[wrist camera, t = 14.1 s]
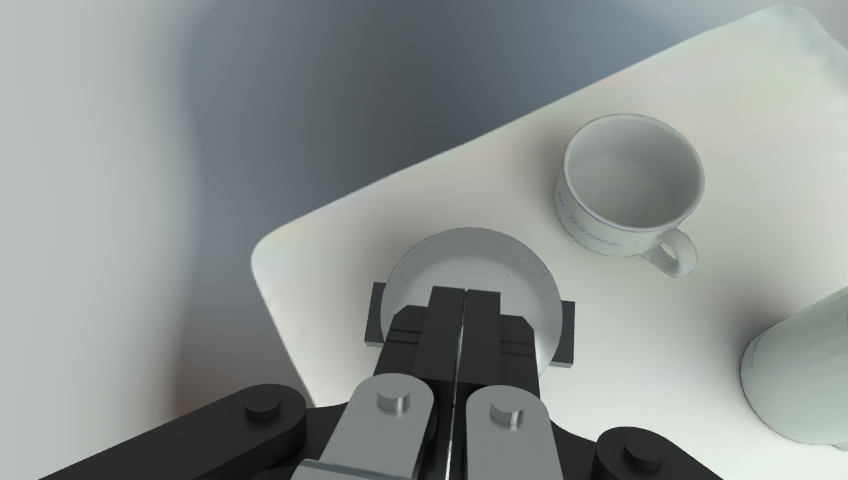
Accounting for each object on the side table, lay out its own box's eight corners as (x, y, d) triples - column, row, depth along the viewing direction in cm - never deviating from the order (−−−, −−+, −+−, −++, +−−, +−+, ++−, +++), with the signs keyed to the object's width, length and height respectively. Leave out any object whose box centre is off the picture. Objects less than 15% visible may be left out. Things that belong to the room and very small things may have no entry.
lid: (562, 241, 42) (567, 231, 40) (556, 417, 38) (561, 414, 36) (395, 226, 43) (392, 215, 42) (370, 395, 39) (365, 391, 37)
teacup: (533, 175, 55) (544, 126, 48) (645, 148, 56) (673, 96, 48) (584, 317, 50) (606, 286, 42) (708, 286, 50) (751, 250, 43)
